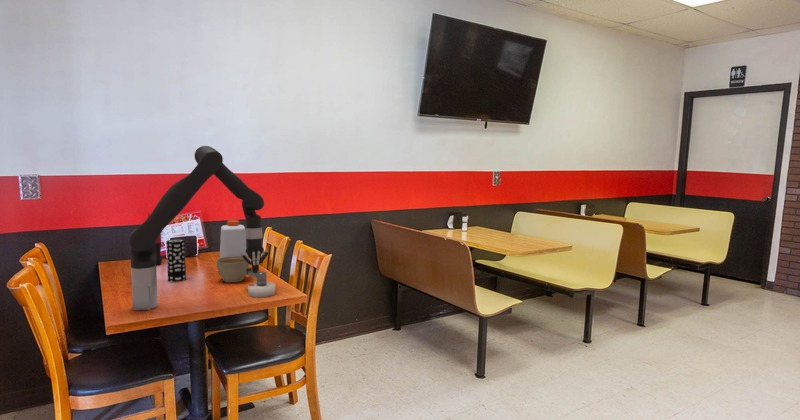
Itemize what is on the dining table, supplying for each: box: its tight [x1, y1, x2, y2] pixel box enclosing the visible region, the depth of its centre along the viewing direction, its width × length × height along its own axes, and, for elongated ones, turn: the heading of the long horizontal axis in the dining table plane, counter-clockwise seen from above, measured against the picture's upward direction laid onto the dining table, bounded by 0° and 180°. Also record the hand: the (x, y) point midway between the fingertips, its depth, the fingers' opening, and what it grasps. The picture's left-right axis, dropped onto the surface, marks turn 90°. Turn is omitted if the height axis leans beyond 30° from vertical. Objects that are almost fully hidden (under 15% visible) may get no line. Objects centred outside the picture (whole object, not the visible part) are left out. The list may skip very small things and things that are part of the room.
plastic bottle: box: [219, 219, 249, 258], centre depth 257 cm, size 15×15×28 cm
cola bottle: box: [147, 212, 163, 267], centre depth 268 cm, size 8×8×30 cm
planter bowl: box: [215, 256, 251, 283], centre depth 240 cm, size 16×16×11 cm
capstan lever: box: [245, 267, 268, 286], centre depth 222 cm, size 14×4×6 cm, turn 48°
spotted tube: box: [165, 238, 187, 283], centre depth 238 cm, size 8×8×20 cm
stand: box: [247, 281, 276, 299], centre depth 219 cm, size 12×12×5 cm
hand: (255, 272), depth 227 cm, fingers closed
